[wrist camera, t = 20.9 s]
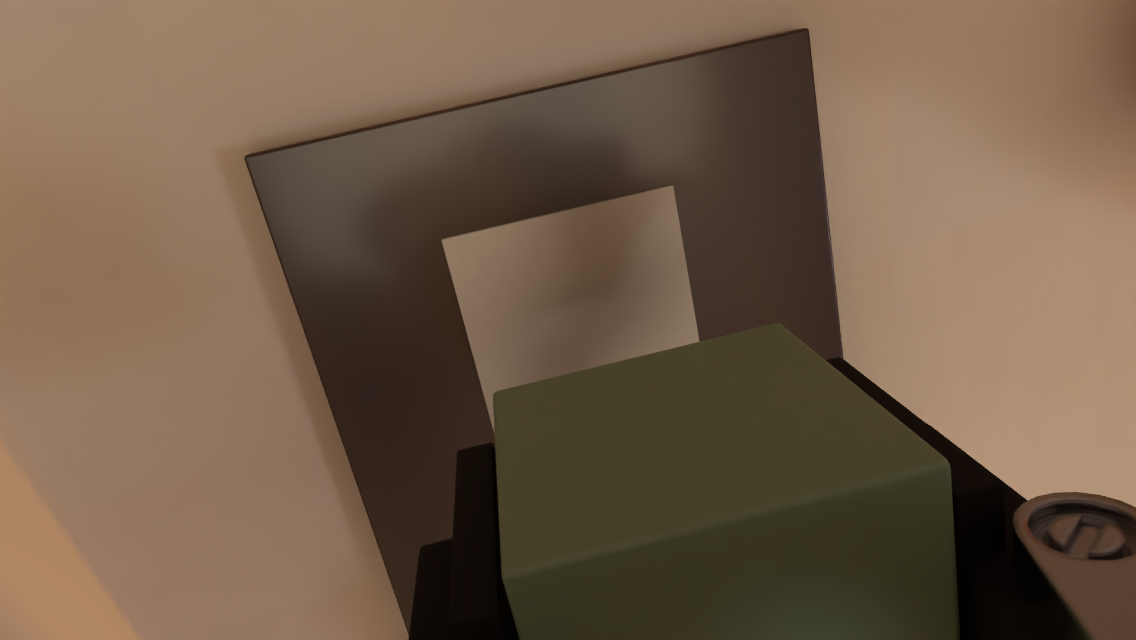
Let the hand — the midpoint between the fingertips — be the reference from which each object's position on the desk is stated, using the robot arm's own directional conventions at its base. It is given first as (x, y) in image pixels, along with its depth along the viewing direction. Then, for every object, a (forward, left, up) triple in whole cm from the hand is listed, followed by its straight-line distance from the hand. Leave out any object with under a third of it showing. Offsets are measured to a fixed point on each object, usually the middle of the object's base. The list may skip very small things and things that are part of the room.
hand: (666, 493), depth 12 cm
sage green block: (0, 0, 0) cm, 0 cm away
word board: (0, -5, -10) cm, 11 cm away
